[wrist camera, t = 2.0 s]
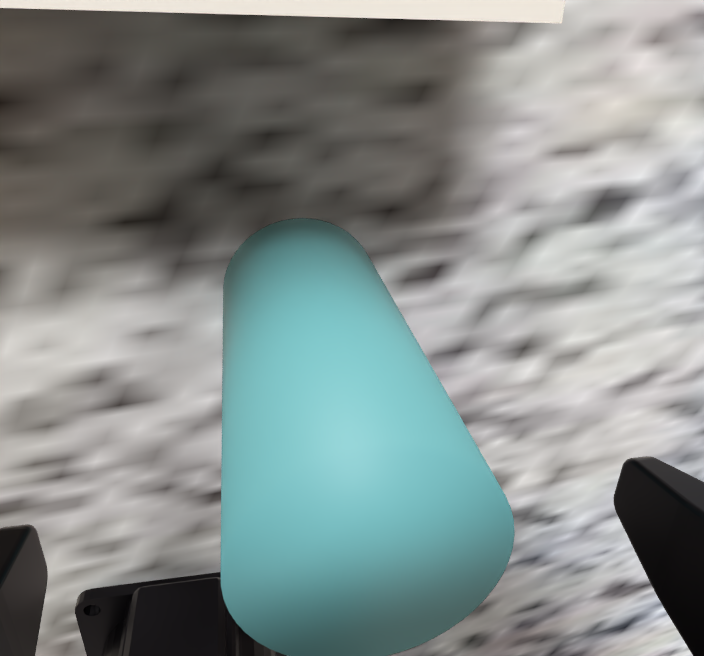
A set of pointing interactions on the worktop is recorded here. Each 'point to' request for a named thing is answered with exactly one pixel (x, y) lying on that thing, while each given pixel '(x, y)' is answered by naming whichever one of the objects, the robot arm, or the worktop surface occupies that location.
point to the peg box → (328, 8)
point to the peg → (343, 460)
